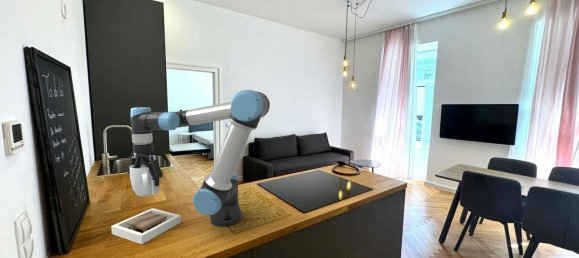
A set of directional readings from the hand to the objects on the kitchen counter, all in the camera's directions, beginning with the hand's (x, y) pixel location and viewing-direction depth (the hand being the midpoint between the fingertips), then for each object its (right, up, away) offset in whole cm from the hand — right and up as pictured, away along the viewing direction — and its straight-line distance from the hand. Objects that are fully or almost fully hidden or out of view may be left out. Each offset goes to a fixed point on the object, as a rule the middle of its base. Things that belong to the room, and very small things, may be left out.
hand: (145, 191), depth 104 cm
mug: (0, -2, 0) cm, 2 cm away
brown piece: (0, -17, +2) cm, 17 cm away
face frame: (0, -17, +2) cm, 17 cm away
